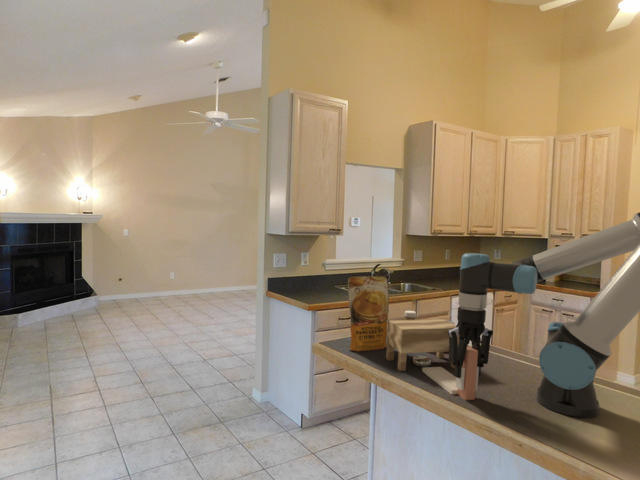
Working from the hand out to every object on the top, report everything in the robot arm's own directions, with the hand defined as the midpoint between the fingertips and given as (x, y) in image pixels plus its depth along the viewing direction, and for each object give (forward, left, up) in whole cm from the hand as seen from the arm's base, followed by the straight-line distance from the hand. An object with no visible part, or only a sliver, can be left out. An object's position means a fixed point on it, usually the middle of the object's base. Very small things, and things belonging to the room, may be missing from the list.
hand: (466, 387), depth 118 cm
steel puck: (+27, 0, -3) cm, 27 cm away
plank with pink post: (+9, 0, -3) cm, 9 cm away
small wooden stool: (+27, 0, -3) cm, 27 cm away
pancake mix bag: (+45, +14, -3) cm, 47 cm away
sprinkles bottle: (+48, -5, -3) cm, 48 cm away
